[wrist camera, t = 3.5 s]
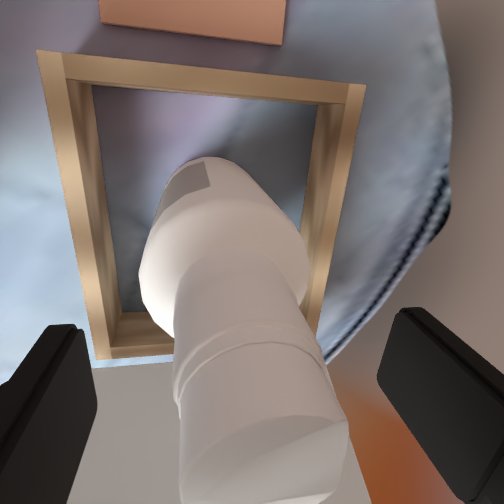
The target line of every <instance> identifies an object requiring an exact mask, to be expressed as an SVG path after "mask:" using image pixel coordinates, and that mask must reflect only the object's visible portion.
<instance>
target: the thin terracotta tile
mask: <svg viewBox="0 0 504 504" xmlns="http://www.w3.org/2000/svg"><path fill="white" fill-rule="evenodd" d="M98 2H99V11H100V19H101V22H102V23H103V24H110V25H117V26H125V27H133V28H141V29H149V30H157V31H164V32H172V33H180V34H188V35H196V36H204V37H212V38H219V39H227V40H235V41H243V42H251V43H259V44H267V45H274V46H281V45H282V38H283V27H284V16H285V6H286V0H98Z"/></svg>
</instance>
